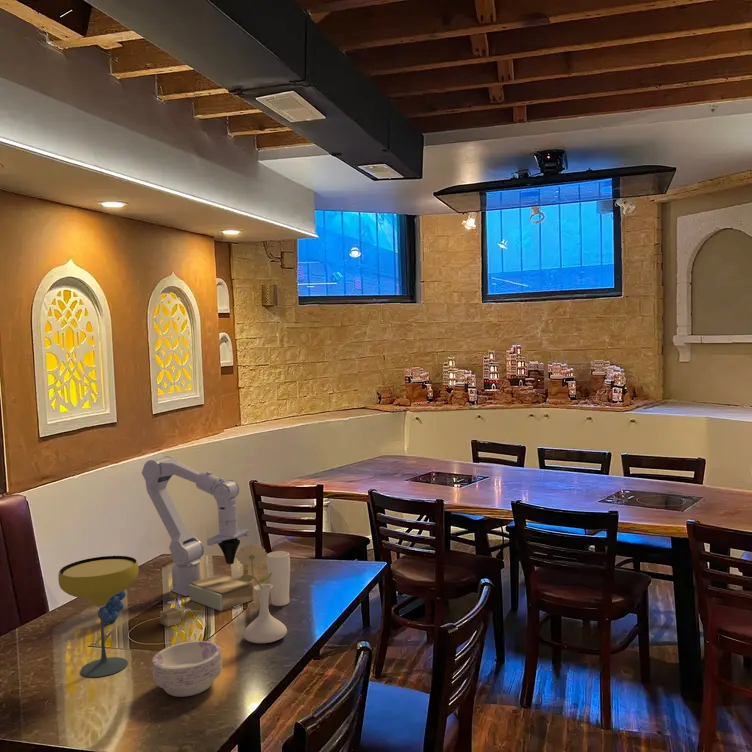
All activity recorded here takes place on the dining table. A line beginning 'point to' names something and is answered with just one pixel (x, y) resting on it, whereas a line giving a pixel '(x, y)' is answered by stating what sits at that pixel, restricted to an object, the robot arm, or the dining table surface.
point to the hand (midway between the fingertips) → (230, 563)
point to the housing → (228, 589)
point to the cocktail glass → (99, 597)
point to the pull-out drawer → (205, 597)
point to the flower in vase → (260, 599)
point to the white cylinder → (279, 577)
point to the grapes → (112, 608)
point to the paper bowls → (187, 667)
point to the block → (170, 617)
